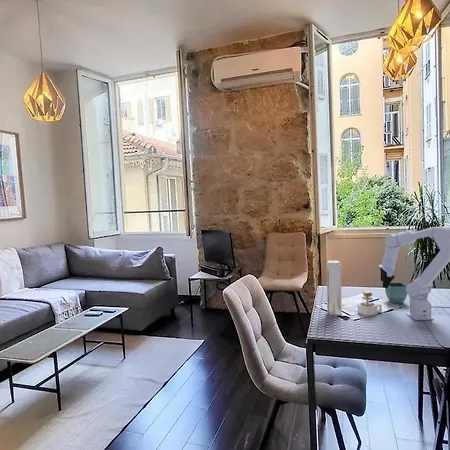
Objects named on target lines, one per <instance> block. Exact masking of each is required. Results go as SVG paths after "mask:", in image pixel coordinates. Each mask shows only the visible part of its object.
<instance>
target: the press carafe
mask: <svg viewBox="0 0 450 450" xmlns="http://www.w3.org/2000/svg"><path fill="white" fill-rule="evenodd" d="M363 302H364V301H361V302H359V303H357V312H358V313H359V314H360V315H364V316H375V315H377V314H378V313H380V312H381V313H382V312H383V309H382V308H383V307H382V304H381V303H379V304H377V303H376V302H370V301H369V302H370V303H373V305H372V306H364V305H362V303H363Z"/></svg>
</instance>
